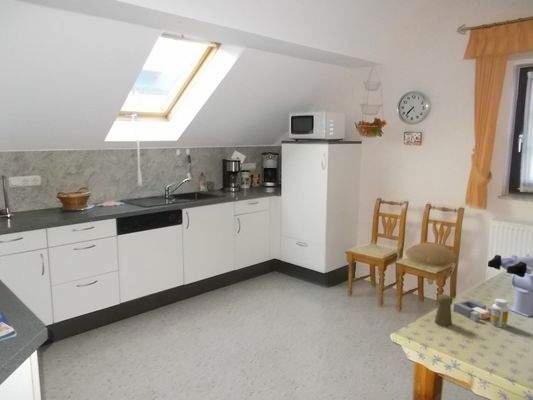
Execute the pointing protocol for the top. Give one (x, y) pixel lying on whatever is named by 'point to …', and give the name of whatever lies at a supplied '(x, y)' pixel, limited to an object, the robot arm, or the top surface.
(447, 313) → the cork
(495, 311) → the supplement bottle
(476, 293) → the top surface
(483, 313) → the orange-ended white block
